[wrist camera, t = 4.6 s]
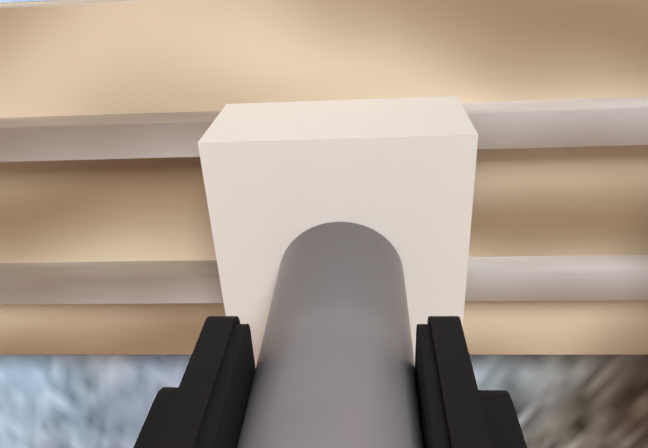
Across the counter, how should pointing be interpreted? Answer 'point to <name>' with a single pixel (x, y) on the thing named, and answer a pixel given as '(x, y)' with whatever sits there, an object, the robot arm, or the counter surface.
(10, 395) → the counter surface
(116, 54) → the rail track
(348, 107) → the carriage
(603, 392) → the counter surface
